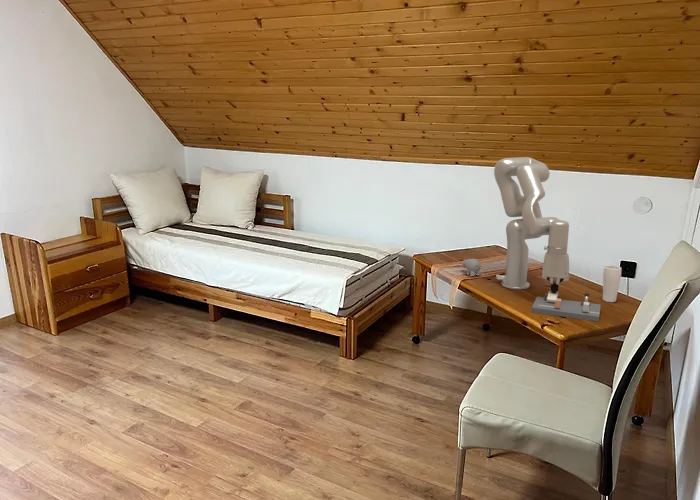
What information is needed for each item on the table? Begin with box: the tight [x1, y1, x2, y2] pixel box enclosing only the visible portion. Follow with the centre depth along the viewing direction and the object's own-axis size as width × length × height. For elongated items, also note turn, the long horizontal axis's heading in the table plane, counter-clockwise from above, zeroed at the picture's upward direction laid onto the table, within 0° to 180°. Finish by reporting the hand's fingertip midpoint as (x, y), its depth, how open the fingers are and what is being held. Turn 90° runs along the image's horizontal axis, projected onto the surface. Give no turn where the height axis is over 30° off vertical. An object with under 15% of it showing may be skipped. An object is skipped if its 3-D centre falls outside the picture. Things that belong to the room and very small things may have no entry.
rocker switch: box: [547, 290, 559, 302], centre depth 226 cm, size 4×7×1 cm, turn 154°
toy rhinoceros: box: [461, 257, 482, 276], centre depth 271 cm, size 7×12×8 cm, turn 22°
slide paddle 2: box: [583, 301, 589, 312], centre depth 213 cm, size 2×3×3 cm, turn 154°
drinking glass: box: [602, 264, 622, 303], centre depth 230 cm, size 7×7×15 cm
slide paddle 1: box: [555, 297, 562, 308], centre depth 218 cm, size 2×3×3 cm, turn 154°
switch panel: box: [531, 292, 602, 322], centre depth 220 cm, size 25×15×5 cm, turn 64°
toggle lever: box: [584, 292, 590, 302], centre depth 221 cm, size 2×2×5 cm
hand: (554, 292), depth 228 cm, fingers closed
